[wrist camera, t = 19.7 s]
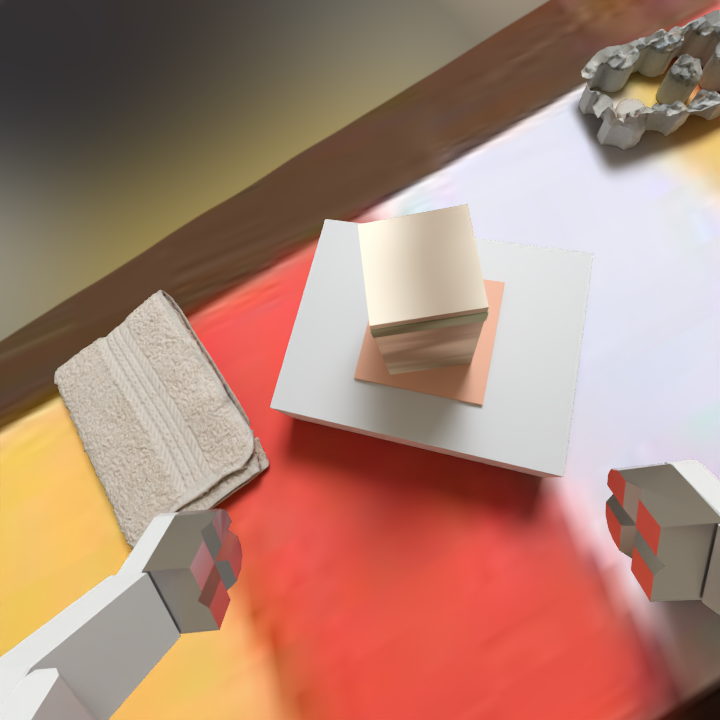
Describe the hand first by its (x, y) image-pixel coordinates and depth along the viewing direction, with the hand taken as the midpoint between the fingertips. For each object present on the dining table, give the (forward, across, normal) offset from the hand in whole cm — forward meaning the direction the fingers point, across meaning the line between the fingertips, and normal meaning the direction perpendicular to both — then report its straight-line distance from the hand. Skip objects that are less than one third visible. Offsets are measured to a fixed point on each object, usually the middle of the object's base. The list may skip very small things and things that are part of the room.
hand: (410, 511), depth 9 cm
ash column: (+19, -1, +3) cm, 19 cm away
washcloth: (+22, +20, +9) cm, 31 cm away
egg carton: (+35, -22, -7) cm, 42 cm away
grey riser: (+23, -2, +7) cm, 24 cm away
